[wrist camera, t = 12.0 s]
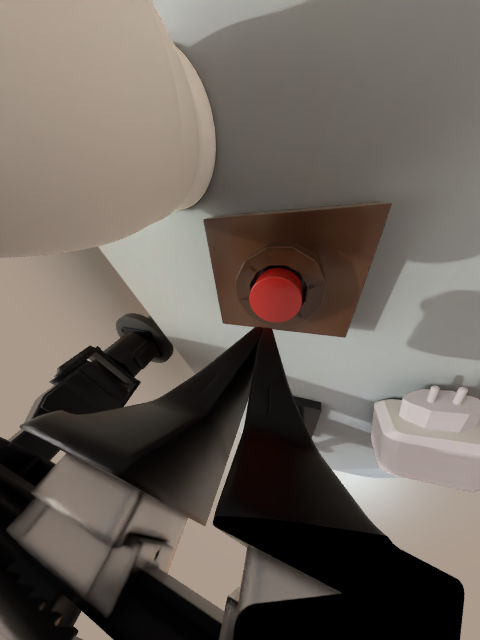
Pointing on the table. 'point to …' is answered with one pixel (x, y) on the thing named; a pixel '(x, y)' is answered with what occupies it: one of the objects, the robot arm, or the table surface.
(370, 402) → the table surface
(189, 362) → the table surface
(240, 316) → the button block
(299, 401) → the black lever mechanism
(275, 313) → the button
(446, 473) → the charger
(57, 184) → the jar
